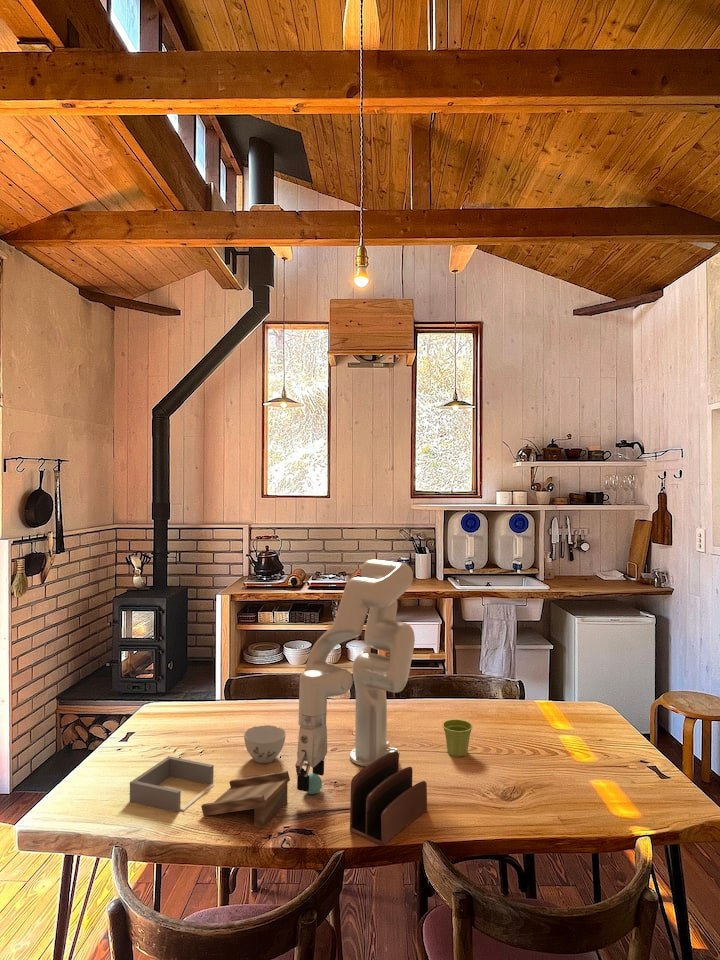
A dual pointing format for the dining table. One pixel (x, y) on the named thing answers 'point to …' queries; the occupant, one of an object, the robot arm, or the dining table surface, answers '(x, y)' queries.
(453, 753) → the plant pot
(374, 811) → the letter holder
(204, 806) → the walnut ramp
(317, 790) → the teal rubber ball
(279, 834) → the dining table surface
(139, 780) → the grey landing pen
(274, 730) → the teacup
